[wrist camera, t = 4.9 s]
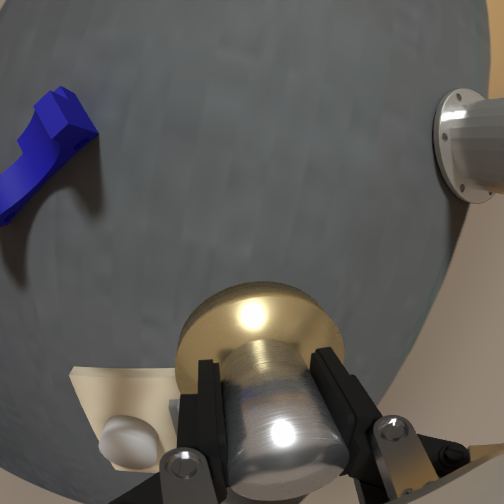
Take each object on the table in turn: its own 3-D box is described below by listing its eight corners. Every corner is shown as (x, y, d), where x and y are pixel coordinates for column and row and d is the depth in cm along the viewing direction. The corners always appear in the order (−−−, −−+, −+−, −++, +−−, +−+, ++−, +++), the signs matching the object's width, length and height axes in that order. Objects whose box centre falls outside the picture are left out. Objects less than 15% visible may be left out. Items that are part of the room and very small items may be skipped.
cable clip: (75, 94, 19) (42, 75, 13) (99, 133, 20) (68, 123, 14) (-12, 185, 19) (-53, 192, 13) (8, 223, 20) (-32, 238, 15)
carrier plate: (296, 357, 28) (310, 385, 23) (288, 454, 32) (296, 480, 27) (73, 366, 25) (58, 394, 20) (117, 461, 29) (112, 487, 24)
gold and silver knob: (340, 276, 12) (433, 362, 6) (322, 399, 14) (369, 495, 8) (168, 284, 12) (136, 400, 5) (187, 412, 13) (186, 523, 7)
